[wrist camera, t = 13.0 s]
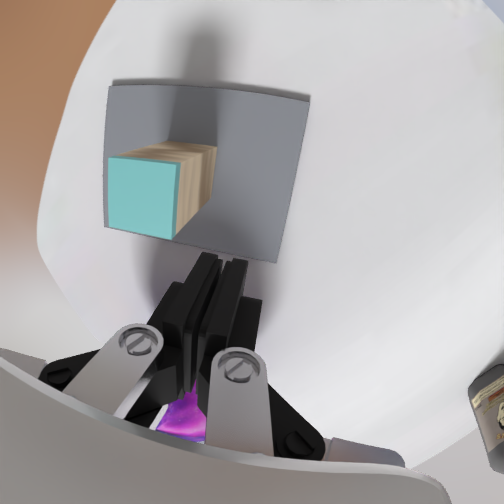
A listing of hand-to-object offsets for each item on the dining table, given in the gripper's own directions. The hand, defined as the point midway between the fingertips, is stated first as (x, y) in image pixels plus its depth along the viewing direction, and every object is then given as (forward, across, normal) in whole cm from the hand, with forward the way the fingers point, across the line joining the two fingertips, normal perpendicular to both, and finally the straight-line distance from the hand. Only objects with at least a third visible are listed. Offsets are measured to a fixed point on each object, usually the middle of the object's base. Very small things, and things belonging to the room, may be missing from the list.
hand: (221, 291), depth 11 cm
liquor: (+18, -47, +24) cm, 55 cm away
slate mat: (+18, +7, 0) cm, 20 cm away
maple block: (+18, +7, 0) cm, 19 cm away
